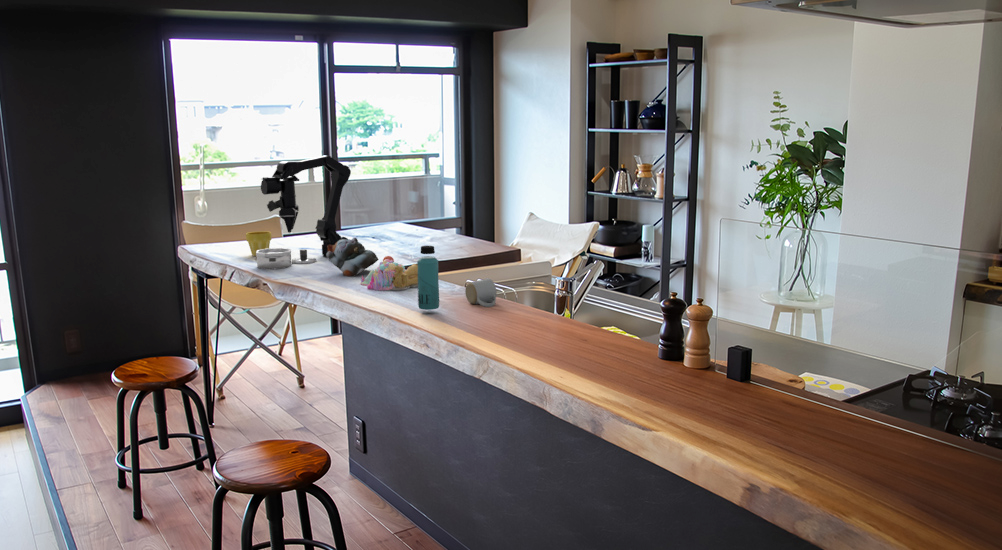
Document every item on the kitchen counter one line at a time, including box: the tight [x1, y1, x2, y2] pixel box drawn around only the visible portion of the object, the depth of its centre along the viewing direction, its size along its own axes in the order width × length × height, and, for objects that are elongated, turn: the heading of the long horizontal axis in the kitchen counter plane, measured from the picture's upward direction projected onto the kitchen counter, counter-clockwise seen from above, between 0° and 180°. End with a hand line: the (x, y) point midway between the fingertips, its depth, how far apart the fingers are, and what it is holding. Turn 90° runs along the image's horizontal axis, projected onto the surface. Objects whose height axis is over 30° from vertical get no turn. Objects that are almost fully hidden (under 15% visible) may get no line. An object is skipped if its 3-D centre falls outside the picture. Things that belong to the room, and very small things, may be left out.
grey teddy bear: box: [326, 236, 379, 277], centre depth 282 cm, size 17×14×16 cm
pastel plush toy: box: [359, 255, 418, 292], centre depth 262 cm, size 25×24×9 cm
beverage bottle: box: [416, 245, 440, 311], centre depth 220 cm, size 6×7×20 cm
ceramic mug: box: [464, 278, 498, 308], centre depth 232 cm, size 10×8×7 cm
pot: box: [255, 247, 293, 270], centre depth 296 cm, size 13×19×6 cm
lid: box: [291, 248, 317, 265], centre depth 306 cm, size 10×10×5 cm
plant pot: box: [245, 230, 272, 257], centre depth 321 cm, size 10×10×10 cm
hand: (290, 230), depth 307 cm, fingers open, 9 cm apart
